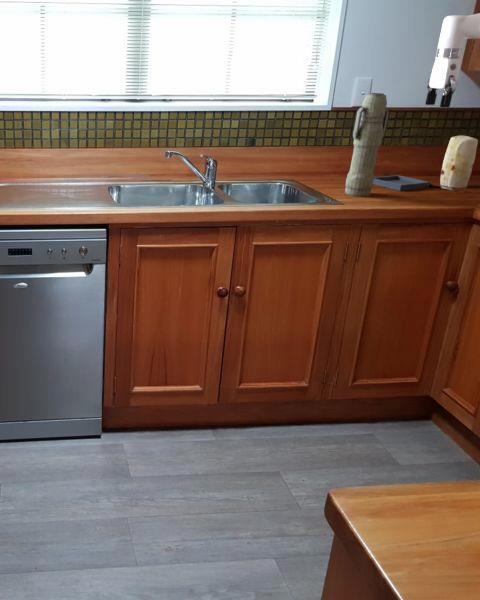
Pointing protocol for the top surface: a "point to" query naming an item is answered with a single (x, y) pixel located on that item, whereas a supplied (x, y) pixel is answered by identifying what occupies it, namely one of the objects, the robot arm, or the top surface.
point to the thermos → (366, 144)
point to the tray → (400, 182)
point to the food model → (458, 162)
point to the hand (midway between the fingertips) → (436, 106)
